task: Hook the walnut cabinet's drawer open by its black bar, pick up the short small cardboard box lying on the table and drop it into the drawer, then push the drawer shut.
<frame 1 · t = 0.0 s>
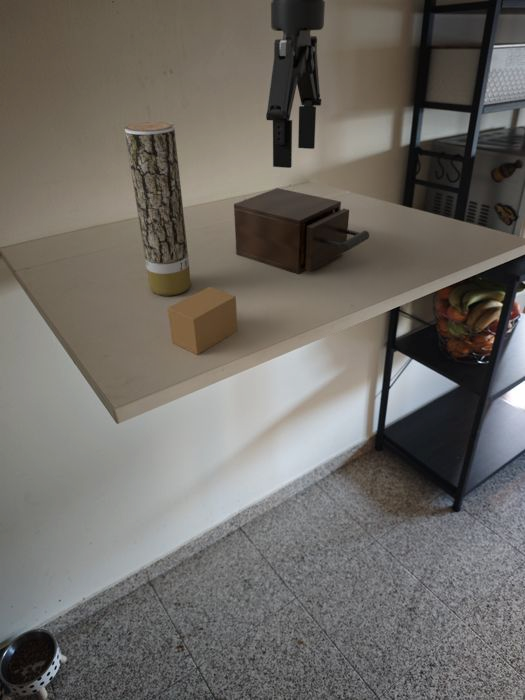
hand: (295, 157, 81), 18 cm above the table, tool pointing down, fingers open, 13 cm apart
paper tube: (171, 289, 83), on the table
drawer: (311, 235, 89), point 5 cm above the table, slide at 1.0 cm
small cardboard box: (205, 336, 70), on the table
cabinet: (286, 253, 94), on the table
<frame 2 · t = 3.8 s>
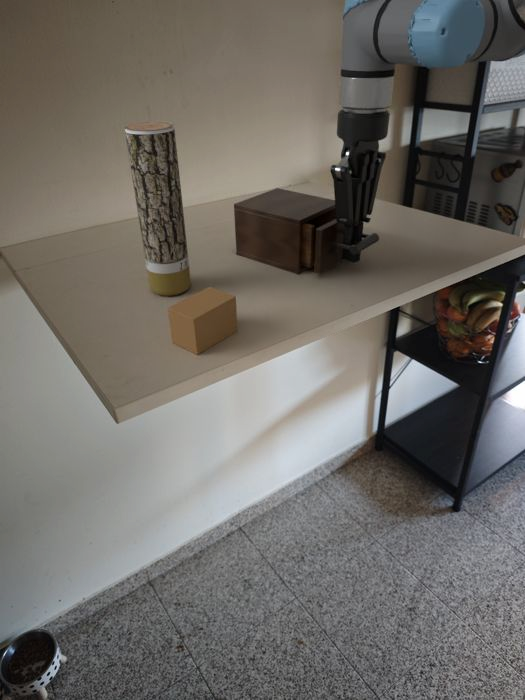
hand: (350, 259, 86), 2 cm above the table, tool pointing down, fingers closed
drawer: (320, 237, 88), point 5 cm above the table, slide at 2.8 cm
everything else where it was.
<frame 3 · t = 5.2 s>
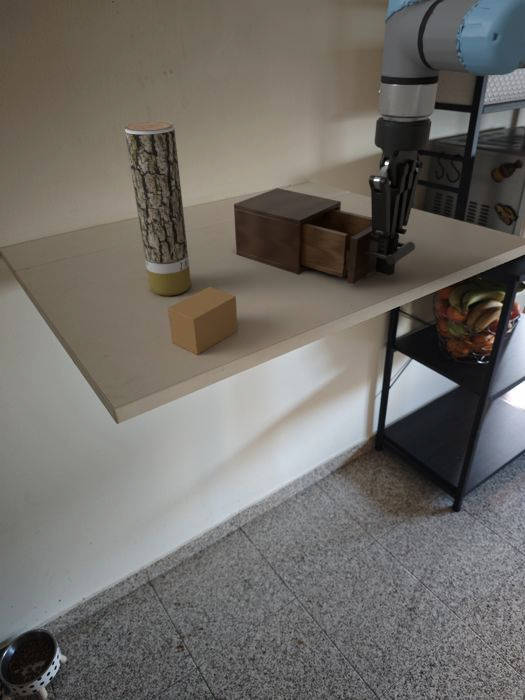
hand: (384, 272, 82), 2 cm above the table, tool pointing down, fingers closed
drawer: (352, 245, 84), point 5 cm above the table, slide at 9.4 cm
everything else where it was.
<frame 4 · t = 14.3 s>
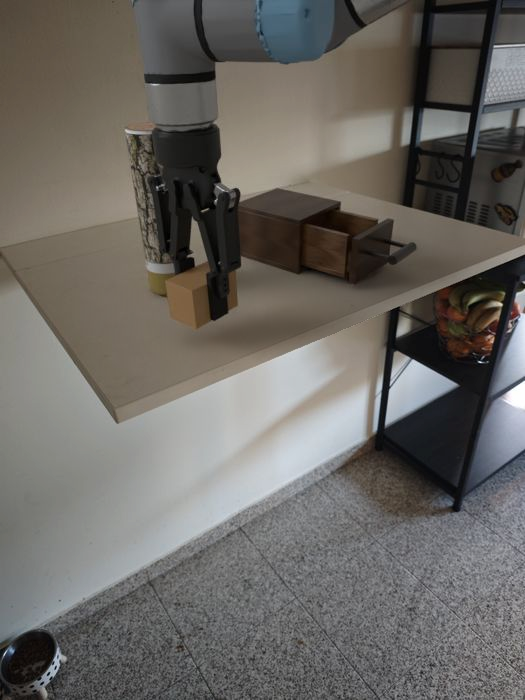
hand: (204, 309, 68), 4 cm above the table, tool pointing down, fingers closed on small cardboard box, 5 cm apart
drawer: (354, 246, 84), point 5 cm above the table, slide at 9.7 cm
small cardboard box: (204, 311, 68), point 4 cm above the table, touching gripper
everything else where it was.
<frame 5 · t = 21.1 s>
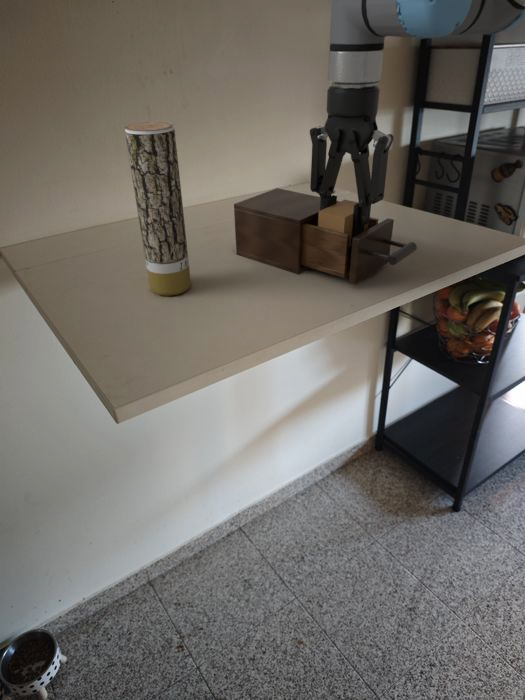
hand: (342, 238, 85), 6 cm above the table, tool pointing down, fingers closed on small cardboard box, 5 cm apart
small cardboard box: (342, 239, 85), point 5 cm above the table, touching gripper
everything else where it was.
when the fingers open (9 cm above the table, at t = 31.5 s): small cardboard box drops 6 cm, resting on drawer.
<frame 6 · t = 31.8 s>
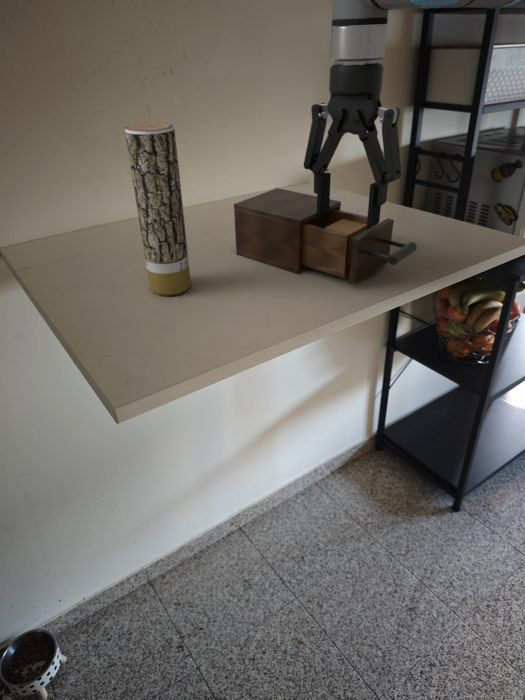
hand: (347, 218, 83), 9 cm above the table, tool pointing down, fingers open, 9 cm apart
drawer: (354, 246, 84), point 5 cm above the table, slide at 9.7 cm, touching small cardboard box
small cardboard box: (340, 258, 87), point 2 cm above the table, touching drawer
everything else where it was.
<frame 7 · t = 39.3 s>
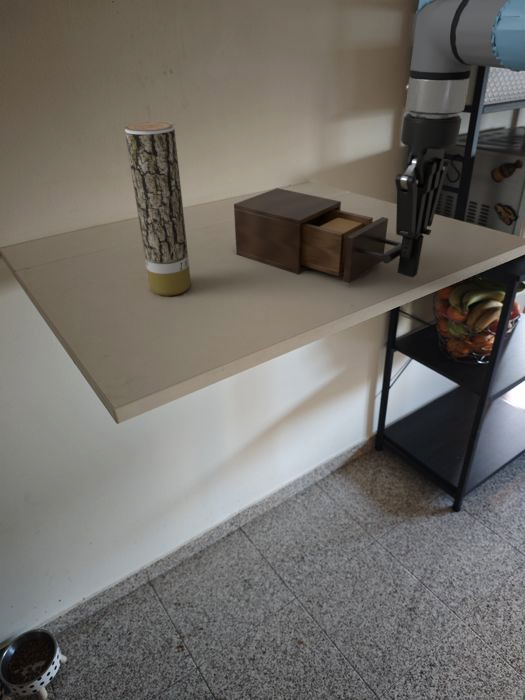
hand: (407, 273, 80), 3 cm above the table, tool pointing down, fingers closed
drawer: (348, 244, 85), point 5 cm above the table, slide at 8.6 cm, touching gripper, small cardboard box
small cardboard box: (335, 256, 88), point 2 cm above the table, touching drawer
everything else where it was.
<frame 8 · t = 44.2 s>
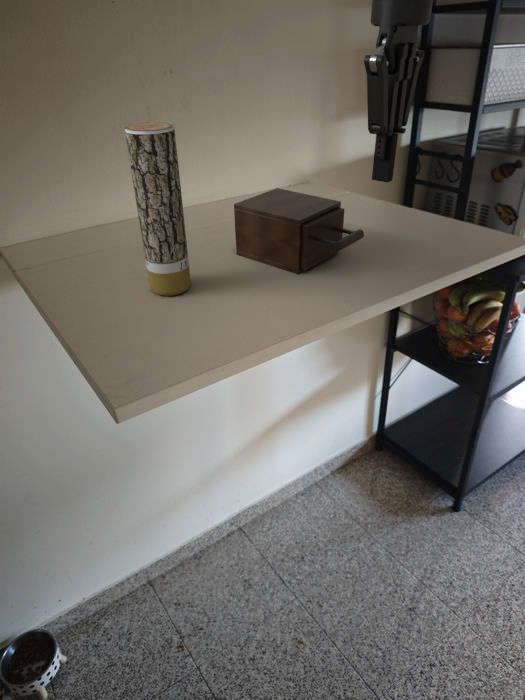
hand: (382, 179, 76), 16 cm above the table, tool pointing down, fingers closed
drawer: (307, 234, 89), point 5 cm above the table, slide at 0.0 cm, touching cabinet, small cardboard box
small cardboard box: (296, 245, 92), point 2 cm above the table, touching drawer
everything else where it was.
at the end: drawer pulled out 9.7 cm at the most during the clip, back to where it started at the end; small cardboard box inside the target area in the cabinet (2.1 cm from its centre), point 2.0 cm above the cabinet's base; drawer slide at 0.0 cm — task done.
